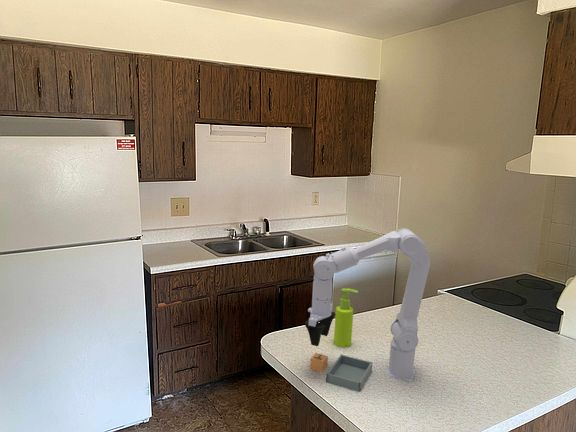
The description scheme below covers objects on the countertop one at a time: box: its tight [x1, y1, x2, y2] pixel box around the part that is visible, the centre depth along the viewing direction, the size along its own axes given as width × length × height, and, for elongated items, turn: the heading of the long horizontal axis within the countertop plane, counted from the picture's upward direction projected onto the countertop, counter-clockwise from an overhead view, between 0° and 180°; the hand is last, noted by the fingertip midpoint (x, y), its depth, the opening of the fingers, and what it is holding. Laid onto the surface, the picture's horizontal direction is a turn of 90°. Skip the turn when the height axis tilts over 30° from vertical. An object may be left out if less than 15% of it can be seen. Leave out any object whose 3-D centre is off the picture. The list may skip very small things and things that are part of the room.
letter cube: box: [309, 352, 329, 373], centre depth 131 cm, size 4×4×4 cm
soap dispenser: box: [333, 287, 359, 349], centre depth 146 cm, size 6×7×20 cm
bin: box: [325, 354, 373, 392], centre depth 127 cm, size 13×10×3 cm
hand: (319, 339), depth 130 cm, fingers open, 7 cm apart
